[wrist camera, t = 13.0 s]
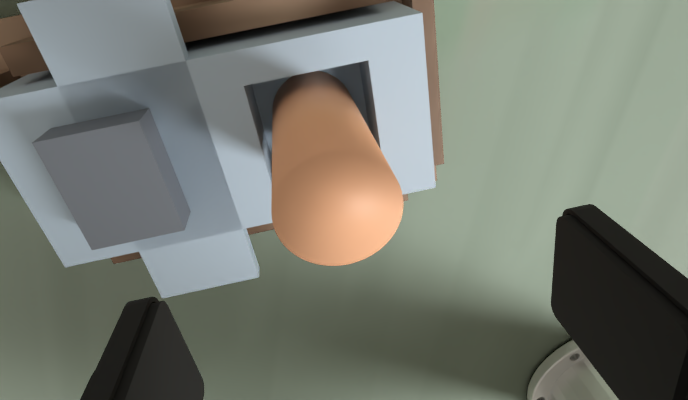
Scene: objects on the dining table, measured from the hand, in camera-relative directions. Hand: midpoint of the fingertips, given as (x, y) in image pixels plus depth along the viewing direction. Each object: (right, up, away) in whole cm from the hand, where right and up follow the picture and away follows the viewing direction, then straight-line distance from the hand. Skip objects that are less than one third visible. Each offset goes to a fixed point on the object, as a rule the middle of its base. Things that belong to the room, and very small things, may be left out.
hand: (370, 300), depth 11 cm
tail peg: (-2, +7, +12) cm, 14 cm away
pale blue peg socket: (-6, +7, +13) cm, 16 cm away
